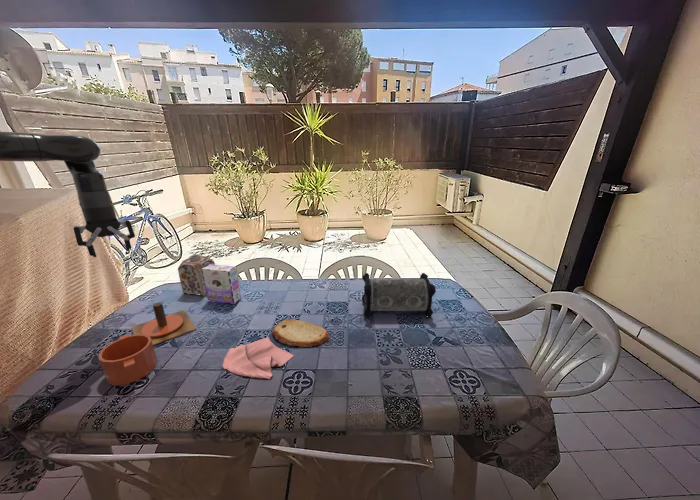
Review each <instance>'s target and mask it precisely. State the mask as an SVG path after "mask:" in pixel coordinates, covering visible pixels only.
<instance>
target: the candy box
mask: <svg viewBox="0 0 700 500" xmlns="http://www.w3.org/2000/svg"><path fill="white" fill-rule="evenodd" d="M237 269H238V268H237V266H234V265H233V266H232V265H222V264H215V265H213V264H210V265H208V266H206V267H204V268H202V274H203V279H204V283H205V288H206V293H207V294H206V298H207V301H208V300H209V301H208V302H210V301H215V302H214V303H219V302H221V303H220V304H226V303H228V304H227V305H235V304H237V303H238V302H239V301H240V300H241V299H242V296H241V289H240V281H239V275H238V271H237ZM240 298H241V299H240ZM239 299H240V300H239ZM238 300H239V301H238ZM237 301H238V302H237Z"/></svg>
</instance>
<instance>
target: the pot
mask: <svg viewBox="0 0 700 500" xmlns="http://www.w3.org/2000/svg"><path fill="white" fill-rule="evenodd" d="M118 338H119V339H116V340H114V341H112V342H110V343H109V344H108V345H106V346H105V347H103V348H102V349H101V351H100V352H99V353H98V361H99V363H100V366H101V369H102V371H103V374H104V377H105V379H106V382H107V383H108V384H110V385H112V386H125V385H129V384H132V383H134V382H137V381H139V380H141V379H143V378H144V377H146V376H148V375H149V374H150V373H151V372H152V371H153V370H155V368H156V367H157V365H158V358H157V355H156V352H155V347H154V346H153V344H152V341H151V338H150V336H148V335H145V334H137V335H133V334H132V335H130V334H129V333H127V334H124V335H121V336H119V337H118Z"/></svg>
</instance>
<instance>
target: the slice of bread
mask: <svg viewBox="0 0 700 500" xmlns="http://www.w3.org/2000/svg"><path fill="white" fill-rule="evenodd" d="M271 335H272V336H273V337H274V339H275V340H276V341H278V342H279V343H281V344H283V345H287V346H291V347H298V348H308V347H309V348H310V347H315V346H319V345H322V344H324V343H325V342H327V341H328V340H329V339H330V334H329V333H328V331H327V330H326V328H323V327H321V326H319V325H316V324H314V323H311V322H307V321H303V320H299V319H295V318H286V319H283V320H281V321H280V322H278V323H277V324H276V325H275V326H274V328H273V329H272V331H271Z"/></svg>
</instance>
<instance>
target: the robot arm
mask: <svg viewBox="0 0 700 500" xmlns="http://www.w3.org/2000/svg"><path fill="white" fill-rule="evenodd" d="M100 156H101V147H100V146H99V145H98V143H97V142H95V141H94V140H93V139H92V138H90V137H87V136H83V135H63V134H62V135H59V134H57V135H55V134H51V135H48V134H41V133H33V132H31V133H30V132H18V131H17V132H16V131H0V162H52V161H53V162H54V161H57V162H58V161H59V162H64V164H65V166H66V168H67V170H68V171H69V173H70V174H71V177H72V181H73V184H74V187H75V190H76V194H77V200H78V202H79V206H80V209H81V212H82V215H83V218H84V220H85V221H84V222H85V225H74V227H73V233H74V237H75V241H76V244H77V246H79V247H86V248H87V251H88V254H89V256H90V257H93V258H97V253H96V250H95V247H94V242H95V241H96V239H97V237H98V238H105V237H113V236H115V235H116V236H118V237H119V238H121V239H123V242H124V246H125V249H126V252H130V250H132V244H131V239H134V238H136V234H135V231H134V227H133V226H132V223H131V221H130V220H129V219H125V220H120V221H119V220H118V218H117V214H116V210H115V207H114V204H113V203H114V202H113V199H112V196H111V194H110V193H109V190H108V186H107V183H106V179H105V177H104V175H103V173H102V172H101V171H99V170H98V169H97V167H96V164H95V162H94V161H96V160H98V158H99V157H100ZM121 225H122V226H123V227H124V228H127V231H128V233H129V234H125V233H124V232H123V231H121V230H119V229H120V227H121ZM85 230H86V231H88V232H89V233H91V234H90V235H89V237H88V239H87V240H83V236H82V234H83V233H84V231H85Z"/></svg>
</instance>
